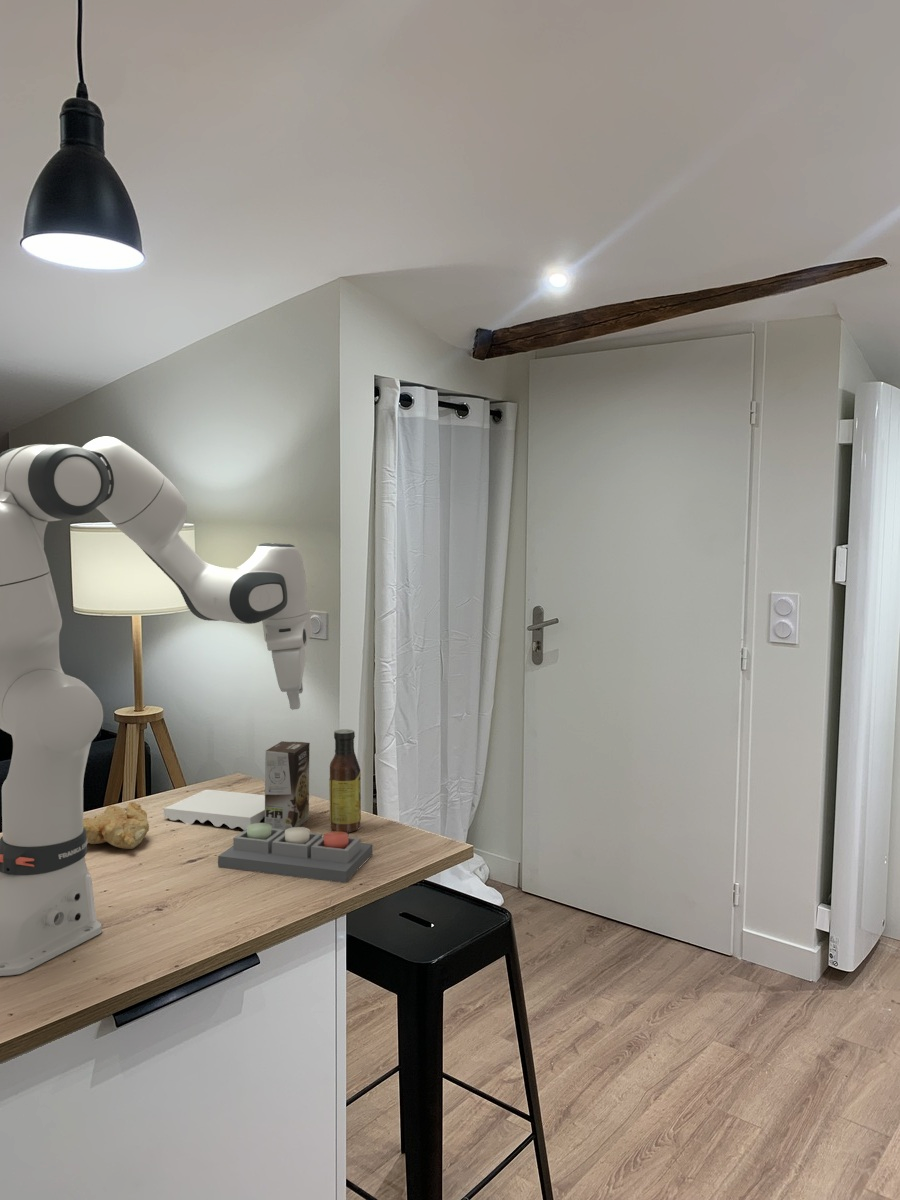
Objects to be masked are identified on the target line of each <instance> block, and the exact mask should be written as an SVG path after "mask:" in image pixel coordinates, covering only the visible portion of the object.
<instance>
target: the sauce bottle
mask: <svg viewBox="0 0 900 1200" xmlns="http://www.w3.org/2000/svg"><path fill="white" fill-rule="evenodd" d="M333 734H334V735H333V737H334V747H335V748H334V756H333V758H332V759H331V761H330V764H329V778H328V779H329V780H328V783H329V784H328V785H329V786H328V787H329V793H328V794H329V822H330V823H329V824H330V829H331V830H332V832H333V831H341V832H345V833H347V834H348V833H352V832H356V831H358V830H359V829H360V828H361V821H362V814H361V813H362V810H361V809H362V805H361V804H362V801H361V800H362V796H361V795H362V794H361V790H362V788H361V768H360V765H359V761H358V759H357V756H356V753H355V737H356V736H355V735H356V733H355V731H354V730H353V729H348V728H347V729H345V728H344V729H337V730H335V731H334V732H333Z"/></svg>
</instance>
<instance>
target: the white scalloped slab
mask: <svg viewBox="0 0 900 1200" xmlns="http://www.w3.org/2000/svg"><path fill="white" fill-rule="evenodd" d="M163 818H164V819H166V818H168V819H169V820H170V821H179V820H180V821H181V822H183V823H184V824H185V823H189V824H188V825H193V824H194V823H195V821H199V822H200V823H201V824H204V823H205V822H207V821H209V822H211V823H212V824H213V826H214V827H217V828H218V827H220V828H221V826H222V825H223V824H224V825H226V826H227V827H229V829H232V830H234V829H236V828H237V827H238V828H240V829H242V830H243V831H244V830H246V829H247V826H248V825H250V824H254V823H261V821H262V820H263V819H264V818H265V794H260V793H259V794H256V793H248V792H237V791H225V790H215V789H203V790H201V791H199V792H197V793H194V794H193V795H190V796H188V797H186V798H184V799H181V800H179V801H177V802H175V803H173V804H170V805H169V806H165V807H164V808H163Z"/></svg>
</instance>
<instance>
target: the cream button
mask: <svg viewBox="0 0 900 1200" xmlns="http://www.w3.org/2000/svg"><path fill="white" fill-rule="evenodd" d="M284 833H285V842H288V843H297V844H306V843H307V842H308V841H310V833H311V831H310V829H309V828H307V827H304V826H303V827H302V826H299V827H293V828H289V829H287V830H285V831H284Z"/></svg>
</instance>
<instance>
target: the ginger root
mask: <svg viewBox="0 0 900 1200" xmlns="http://www.w3.org/2000/svg"><path fill="white" fill-rule="evenodd" d="M147 816H148V814H147V811H146V810H143V809H142V805H141V803H136V802H135V801H130V802H129V803H128V805H127V806H126V810H124V808H122V807H121V806H119V805H109V806H107V807H106V808H105V810H104V812H103V813H100V814H98V815H95V816H94V817H85V818H83V827H84V828H85V829H86V835H87V840H88V844H91V845H97V844H104V843H108V844H110V845H111V846H113V847H116V848H119V849H123V850H133V849H134V848H136V847H137V846H139V844H141V842H142V841H143V839H144V838H145V836H146V835H147V833H148V832H149V830H150V825H149V821H148V817H147Z"/></svg>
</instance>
